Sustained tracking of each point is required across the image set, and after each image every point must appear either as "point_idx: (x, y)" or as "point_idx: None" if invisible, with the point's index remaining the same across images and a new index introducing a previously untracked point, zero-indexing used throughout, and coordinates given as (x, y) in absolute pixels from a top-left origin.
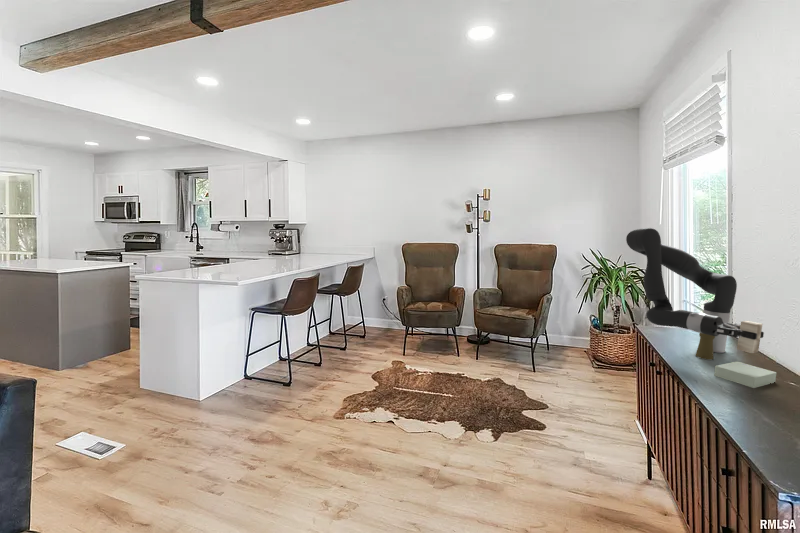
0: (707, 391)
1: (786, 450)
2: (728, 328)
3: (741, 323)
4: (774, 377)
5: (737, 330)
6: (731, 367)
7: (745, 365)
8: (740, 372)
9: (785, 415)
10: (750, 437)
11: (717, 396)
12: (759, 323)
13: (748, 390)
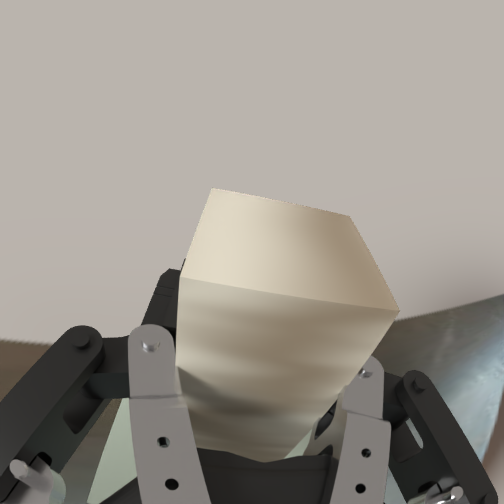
0: None
1: (480, 305)
2: (447, 444)
3: (386, 323)
4: None
5: (422, 373)
6: None
7: (135, 466)
8: (299, 451)
9: (403, 328)
10: (498, 329)
11: (458, 422)
12: (236, 199)
13: None
